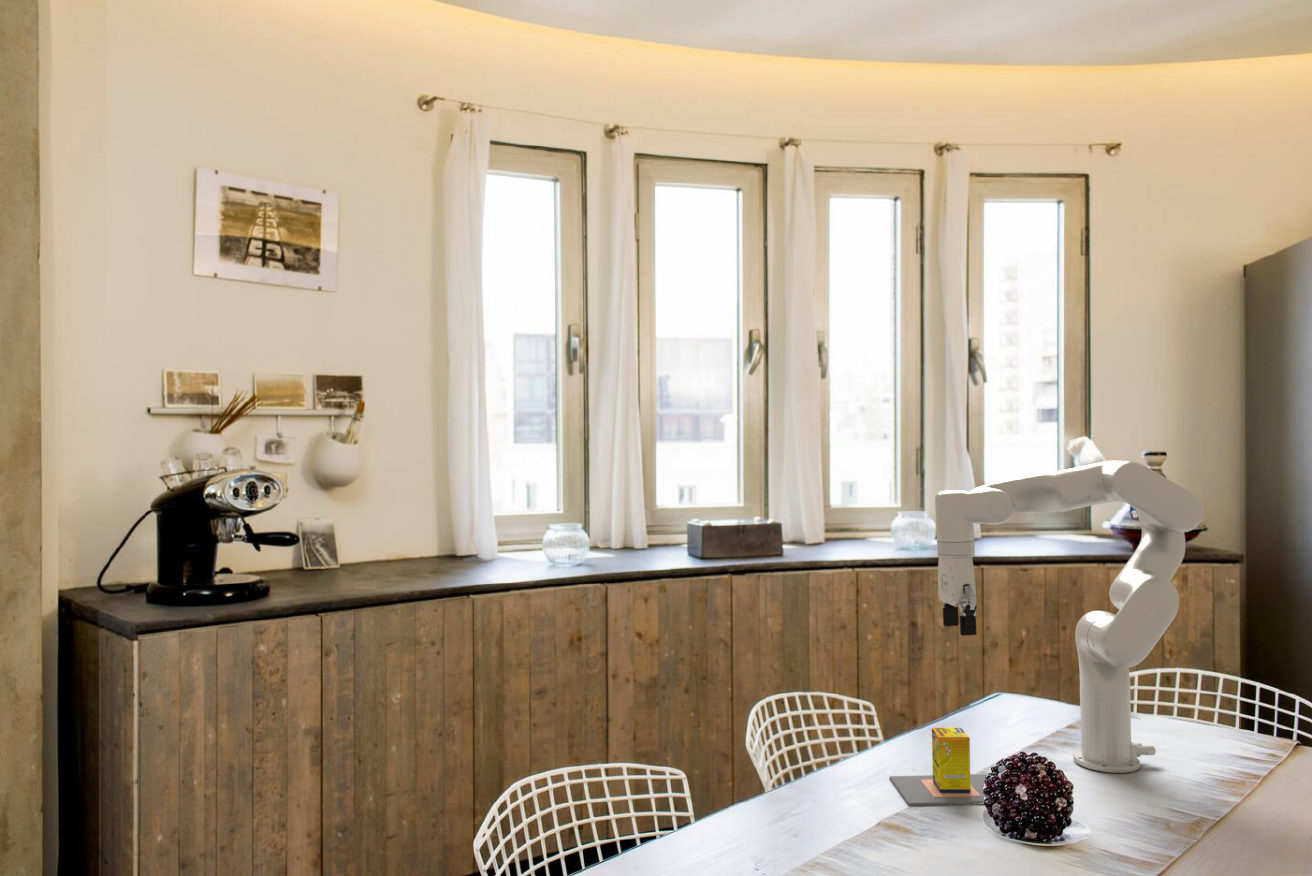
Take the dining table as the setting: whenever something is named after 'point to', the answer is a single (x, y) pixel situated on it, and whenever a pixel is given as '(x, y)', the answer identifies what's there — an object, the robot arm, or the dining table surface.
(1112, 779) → the dining table surface
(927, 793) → the mat
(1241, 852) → the dining table surface
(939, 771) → the supplement box
